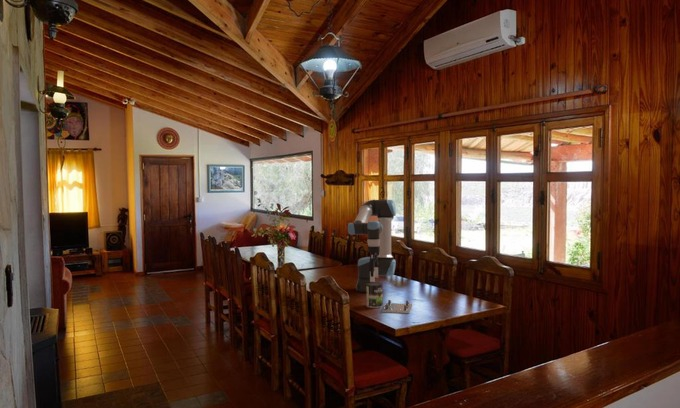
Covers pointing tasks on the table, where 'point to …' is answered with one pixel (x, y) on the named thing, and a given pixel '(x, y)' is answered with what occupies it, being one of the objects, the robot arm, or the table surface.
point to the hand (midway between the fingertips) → (374, 279)
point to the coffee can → (374, 294)
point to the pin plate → (397, 307)
